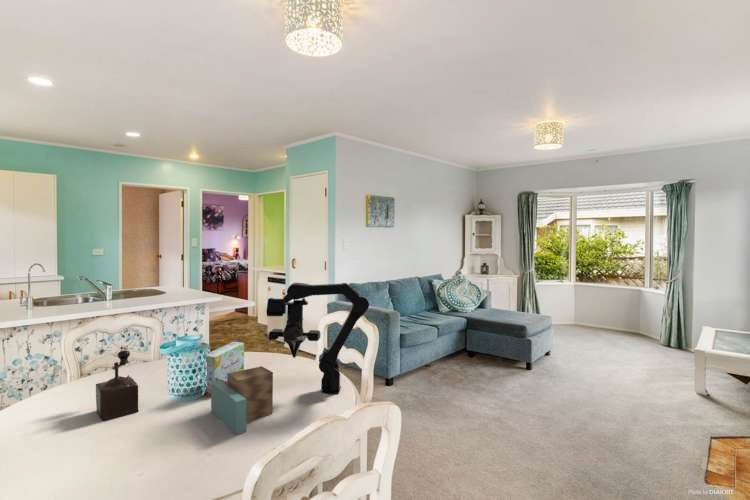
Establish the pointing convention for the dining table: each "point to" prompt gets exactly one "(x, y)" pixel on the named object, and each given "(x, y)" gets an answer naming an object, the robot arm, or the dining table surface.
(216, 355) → the snack box
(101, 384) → the pepper mill
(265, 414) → the walnut block
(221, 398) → the teal board
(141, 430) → the dining table surface
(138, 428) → the dining table surface
